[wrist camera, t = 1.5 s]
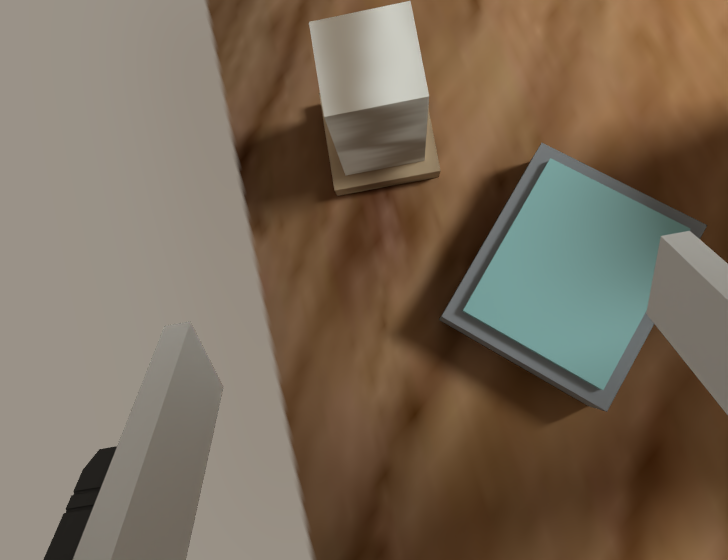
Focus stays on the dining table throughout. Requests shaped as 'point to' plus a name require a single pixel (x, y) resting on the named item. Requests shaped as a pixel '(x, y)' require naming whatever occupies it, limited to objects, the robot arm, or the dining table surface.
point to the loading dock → (567, 276)
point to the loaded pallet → (374, 99)
